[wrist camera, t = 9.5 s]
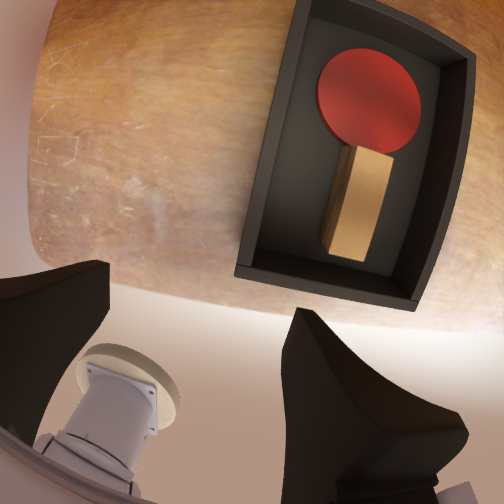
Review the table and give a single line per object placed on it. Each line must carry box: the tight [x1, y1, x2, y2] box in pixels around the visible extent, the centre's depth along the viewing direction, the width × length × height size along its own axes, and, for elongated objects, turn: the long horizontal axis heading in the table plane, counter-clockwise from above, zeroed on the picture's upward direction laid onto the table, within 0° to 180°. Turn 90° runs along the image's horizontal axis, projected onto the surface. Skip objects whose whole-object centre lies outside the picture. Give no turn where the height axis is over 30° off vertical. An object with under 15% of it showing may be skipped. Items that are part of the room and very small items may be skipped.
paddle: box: [316, 48, 421, 262], centre depth 15 cm, size 13×7×3 cm, turn 168°
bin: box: [234, 0, 476, 312], centre depth 15 cm, size 18×12×4 cm, turn 168°
